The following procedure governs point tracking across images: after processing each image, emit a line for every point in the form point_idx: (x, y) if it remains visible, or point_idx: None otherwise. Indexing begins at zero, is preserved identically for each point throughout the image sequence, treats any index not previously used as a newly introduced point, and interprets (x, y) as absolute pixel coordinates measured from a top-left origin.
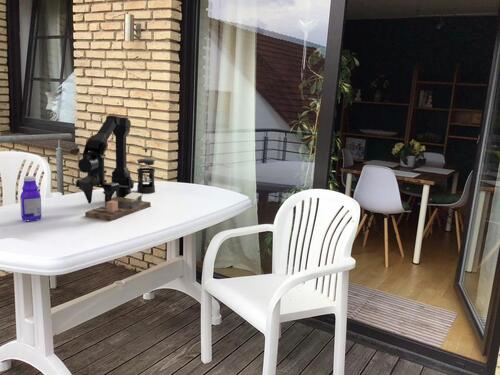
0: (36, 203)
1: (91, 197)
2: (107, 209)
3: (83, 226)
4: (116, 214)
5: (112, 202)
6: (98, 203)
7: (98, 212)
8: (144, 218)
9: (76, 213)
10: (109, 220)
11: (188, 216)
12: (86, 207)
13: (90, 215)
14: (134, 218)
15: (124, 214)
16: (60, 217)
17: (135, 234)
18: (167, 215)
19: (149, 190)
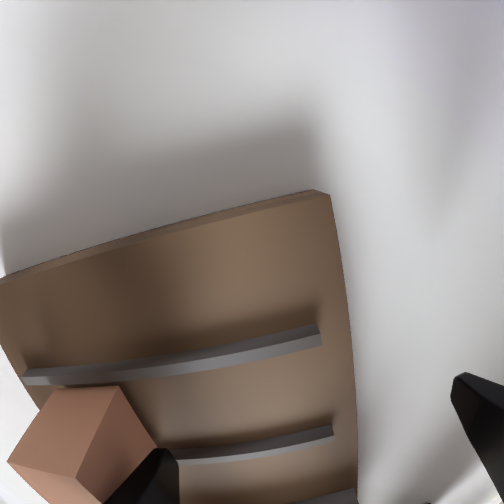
0: None
1: (482, 455)
2: (99, 402)
3: (35, 11)
4: (15, 371)
5: (25, 476)
6: None
7: (169, 314)
8: (6, 432)
9: (472, 211)
10: (10, 274)
11: (4, 491)
12: (499, 368)
13: (230, 213)
14: (17, 414)
15: None
16: (448, 25)
17: None
18: (30, 490)
19: None
